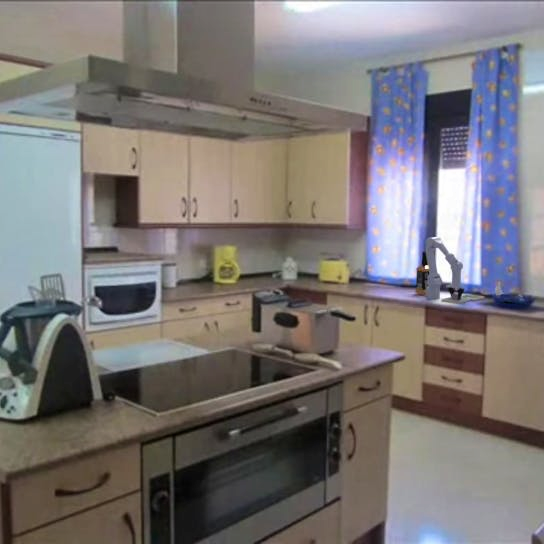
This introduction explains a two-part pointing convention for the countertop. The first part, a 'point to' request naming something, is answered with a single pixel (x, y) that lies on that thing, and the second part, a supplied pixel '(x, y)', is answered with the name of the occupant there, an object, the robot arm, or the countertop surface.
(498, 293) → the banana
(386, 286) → the countertop surface
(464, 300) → the tray
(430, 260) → the robot arm
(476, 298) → the tray
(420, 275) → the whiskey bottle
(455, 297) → the stone
